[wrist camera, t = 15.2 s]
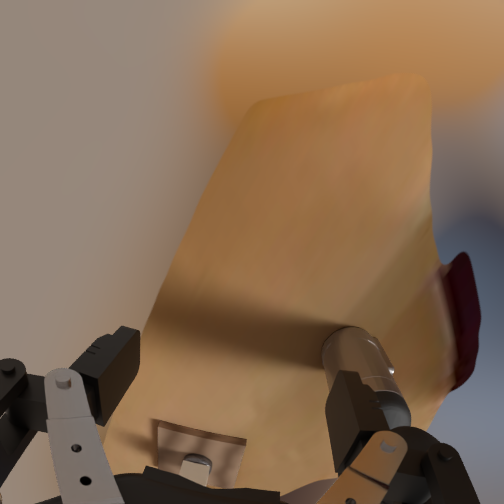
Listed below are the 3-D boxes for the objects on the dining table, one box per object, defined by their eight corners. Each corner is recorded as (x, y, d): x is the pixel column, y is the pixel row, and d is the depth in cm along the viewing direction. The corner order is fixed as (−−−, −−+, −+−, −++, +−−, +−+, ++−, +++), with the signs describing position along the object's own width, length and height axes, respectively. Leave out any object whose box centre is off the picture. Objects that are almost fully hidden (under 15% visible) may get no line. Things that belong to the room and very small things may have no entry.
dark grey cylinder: (213, 457, 57) (206, 492, 47) (210, 472, 59) (203, 506, 49) (184, 450, 57) (173, 485, 48) (182, 466, 59) (172, 499, 49)
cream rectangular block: (209, 466, 55) (202, 498, 46) (207, 479, 56) (200, 510, 47) (183, 460, 55) (173, 492, 46) (182, 473, 56) (173, 504, 48)
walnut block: (246, 439, 57) (245, 446, 56) (233, 483, 62) (233, 489, 60) (160, 420, 58) (157, 426, 56) (160, 467, 62) (158, 472, 60)
